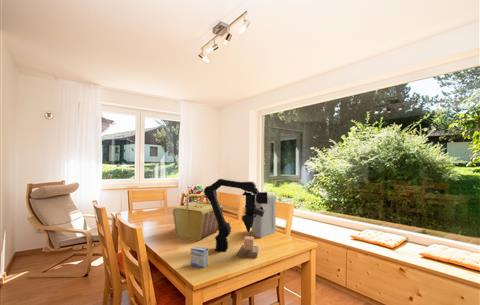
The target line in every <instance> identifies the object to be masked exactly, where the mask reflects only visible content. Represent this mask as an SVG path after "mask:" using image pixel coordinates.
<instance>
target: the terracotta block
mask: <svg viewBox="0 0 480 305" xmlns="http://www.w3.org/2000/svg"><path fill="white" fill-rule="evenodd" d="M243 241H244V242H243V245H244V250H253V248H254V246H255V236H247V235H245V236H244V238H243Z"/></svg>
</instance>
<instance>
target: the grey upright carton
mask: <svg viewBox="0 0 480 305" xmlns="http://www.w3.org/2000/svg"><path fill="white" fill-rule="evenodd" d="M267 195H268V204H258V202H256V196H255V204H256V207H257V208H260V207H263V210H264V211H265V212H264V214H263V217H260V216H259V215H257V216H256V217H255V218H254V221H253V225H252V228H251V233H252V232H253V233H252V234H253V236H254V237H255V236H256V237H255V238H258V237H259V238H258V239H262V237H263V238H265V236H266V237H268V236H271V235H273V234H275V232H276V230H277V229H276V226H277V225H276V222H277V221H276V220H277V219H276V218H277V215H276V214H277V213H276V212H277V209H276V208H277V203H276V202H277V195H276V194H268V193H267ZM272 233H273V234H272ZM270 234H271V235H270ZM267 235H268V236H267Z"/></svg>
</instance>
